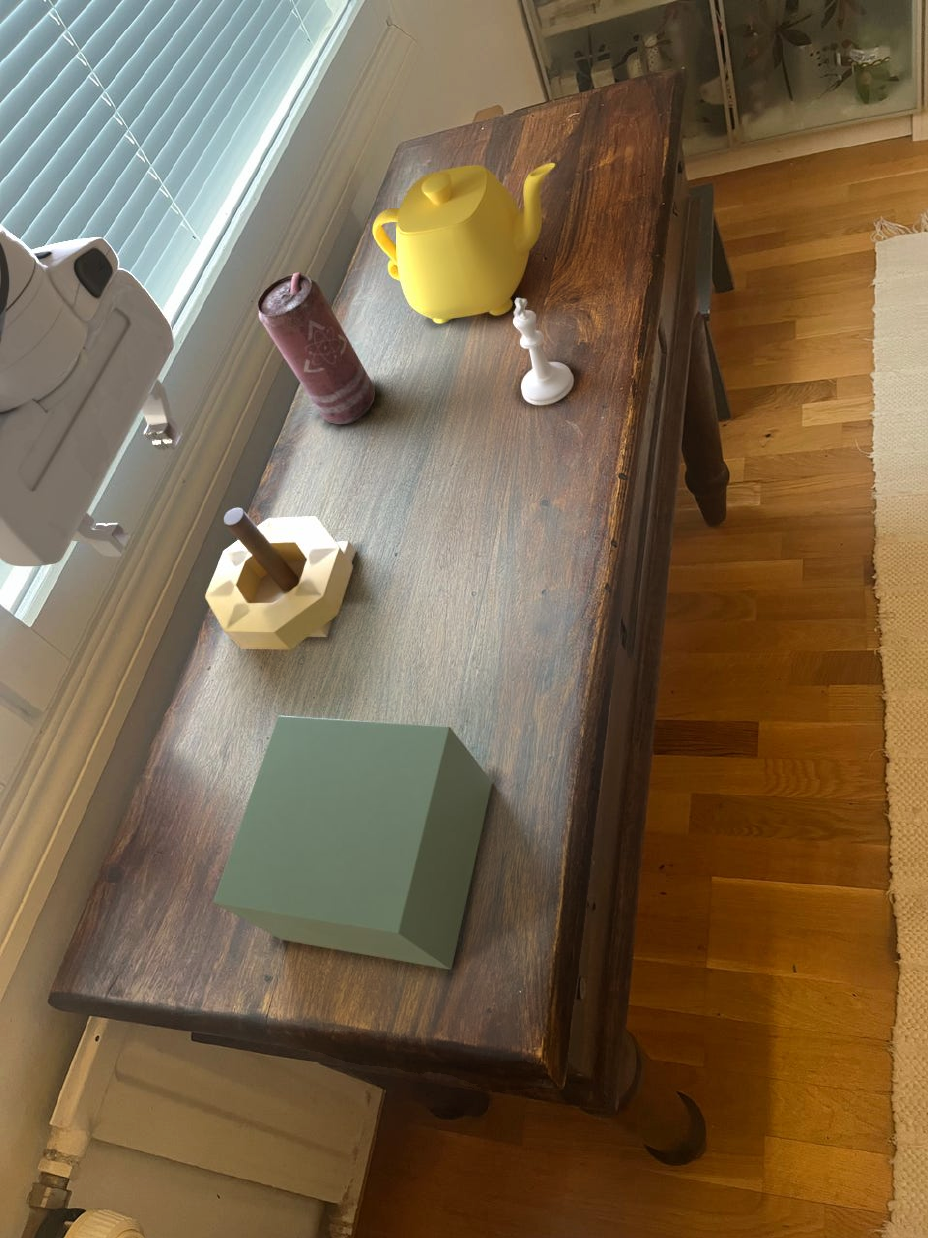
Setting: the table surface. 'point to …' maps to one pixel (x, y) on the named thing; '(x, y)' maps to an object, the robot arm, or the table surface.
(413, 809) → the plinth
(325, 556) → the brass ring
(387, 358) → the table surface
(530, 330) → the chess piece
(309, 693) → the table surface
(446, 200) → the teapot
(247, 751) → the table surface
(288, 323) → the can
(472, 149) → the table surface
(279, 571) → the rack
